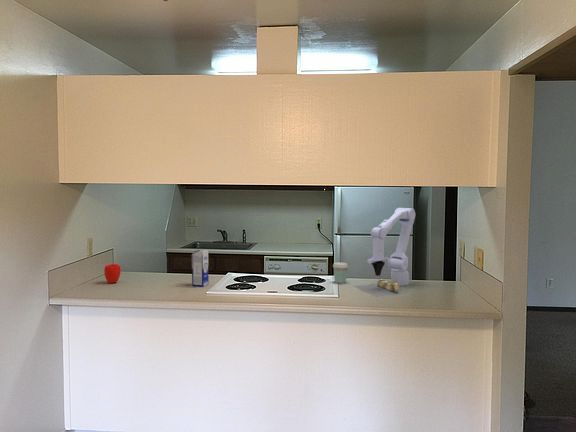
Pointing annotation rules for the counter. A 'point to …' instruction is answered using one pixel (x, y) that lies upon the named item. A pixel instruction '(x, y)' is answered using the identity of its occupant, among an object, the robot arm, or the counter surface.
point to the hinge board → (377, 290)
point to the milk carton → (200, 268)
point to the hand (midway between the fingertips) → (377, 275)
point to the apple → (112, 273)
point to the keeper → (394, 286)
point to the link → (385, 285)
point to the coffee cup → (340, 272)
